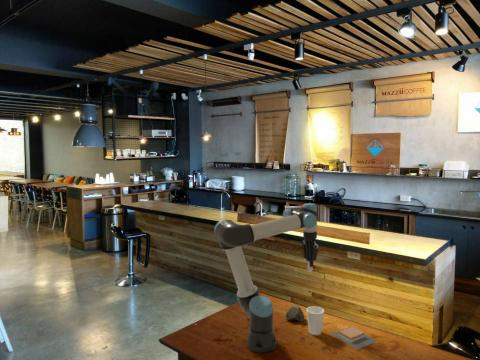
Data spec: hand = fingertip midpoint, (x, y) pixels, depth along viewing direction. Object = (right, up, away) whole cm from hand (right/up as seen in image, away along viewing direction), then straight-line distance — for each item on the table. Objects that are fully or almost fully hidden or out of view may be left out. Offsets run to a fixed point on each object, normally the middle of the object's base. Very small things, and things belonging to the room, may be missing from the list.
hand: (310, 271), depth 212 cm
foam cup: (+1, -31, -11) cm, 33 cm away
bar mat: (+20, -31, -17) cm, 40 cm away
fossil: (-8, -29, +6) cm, 31 cm away
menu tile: (+17, -29, -13) cm, 36 cm away
